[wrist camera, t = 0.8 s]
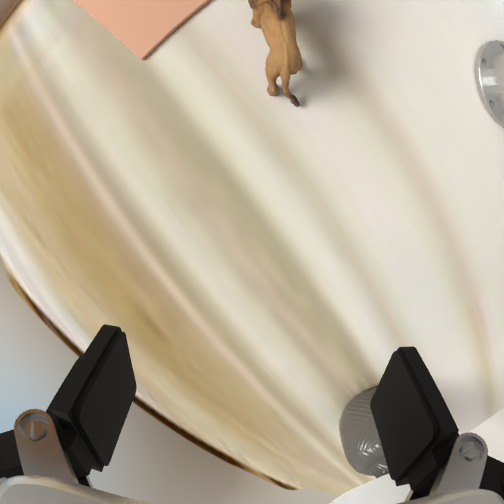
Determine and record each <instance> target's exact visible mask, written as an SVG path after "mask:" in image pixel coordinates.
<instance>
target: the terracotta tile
mask: <svg viewBox="0 0 504 504" xmlns="http://www.w3.org/2000/svg"><path fill="white" fill-rule="evenodd" d="M74 1H75V2H76V3H77V4H79V5H80V6H81V7H82V8H83V9H85V10H86V11H87V12H88V13H89V14H90V15H92V16H93V17H94V18H95V19H96V20H97V21H99V22H100V23H101V24H102V25H103V26H104V27H106V28H107V29H108V30H109V31H110V32H111V33H112V34H113V35H115V36H116V37H117V38H118V39H119V40H120V41H121V42H122V43H124V44H125V45H126V46H127V47H128V48H129V49H130V50H131V51H132V52H133V53H135V54H136V55H137V56H138V57H139V58H140V59H141V60H144V59H145V58H146V57H147V56H148V55H149V54H150V53H151V52H152V51H153V50H154V49H155V48H156V47H157V46H158V45H159V44H160V43H161V42H162V41H163V40H164V39H165V38H166V37H167V36H169V35H170V34H171V33H172V32H173V31H174V30H175V29H176V28H177V27H179V26H180V25H181V24H182V23H183V22H184V21H186V20H187V19H188V18H189V17H190V16H191V15H193V14H194V13H195V12H196V11H198V10H199V9H200V8H201V7H203V6H204V5H205V4H206V3H208V2H209V1H210V0H74Z"/></svg>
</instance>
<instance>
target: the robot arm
mask: <svg viewBox="0 0 504 504" xmlns="http://www.w3.org/2000/svg"><path fill="white" fill-rule="evenodd" d="M475 75H476V82H477V86H478V90H479V93H480V96H481V99H482V101H483V103H484V105H485V107H486V109H487V111H488V112H489V114H490V115H491V116H492V118H493V119H494V120H495V121H496V122H497V123H498V124H499V125H501V126H502V127H504V42H503V41H498V40H496V41H490V42H487V43H485V44H484V45H483V46H482V47H481V48H480V50H479V51H478V54H477V57H476V63H475ZM135 393H136V381H135V377H134V372H133V368H132V363H131V358H130V354H129V349H128V344H127V338H126V334H125V332H122V331H121V328H120V327H117V326H111V325H103V326H102V327H101V329H100V330H99V332H98V333H97V335H96V336H95V338H94V339H93V341H92V342H91V344H90V346H89V347H88V349H87V350H86V352H85V353H84V355H83V356H81V357H79V358H78V360H77V361H76V362H75V364H74V366H73V367H72V369H71V370H70V372H69V374H68V376H67V377H66V378H65V380H64V382H63V383H62V385H61V387H60V388H59V390H58V392H57V393H56V395H55V397H54V398H53V400H52V402H51V404H50V405H49V407H48V409H47V410H46V412H44V411H42V410H39V409H30V410H27V411H25V412H23V413H22V414H21V415H19V416H18V418H17V419H16V421H15V424H14V430H10V431H7V432H4V433H1V434H0V504H151V503H147V502H142V501H138V500H134V499H129V498H126V497H121V496H118V495H114V494H111V493H107V492H104V491H101V490H97V489H94V488H93V486H92V484H91V482H90V479H89V477H88V475H89V474H90V471H91V469H94V470H97V471H100V472H102V470H103V467H104V465H105V466H108V465H109V463H110V460H111V458H112V455H113V452H114V449H115V446H116V444H117V441H118V438H119V435H120V433H121V430H122V427H123V425H124V422H125V419H126V417H127V414H128V411H129V409H130V406H131V403H132V401H133V398H134V396H135ZM370 408H371V412H372V415H373V418H374V421H375V425H376V428H377V431H378V435H379V438H380V442H381V445H382V449H383V452H384V456H385V459H386V463H387V467H388V470H389V474H390V477H391V479H392V480H395V484H396V487H397V486H402V485H406V484H409V485H410V489H411V490H410V491H409V493H408V495H407V497H406V499H405V501H404V502H401V503H397V504H504V463H503V462H500V461H499V460H496V459H494V458H492V457H490V456H488V448H487V445H486V443H485V441H484V440H483V439H482V438H481V437H480V436H478V435H477V434H474V433H464V434H461V435H460V436H459V434H458V431H459V430H458V428H457V426H456V423H455V421H454V419H453V417H452V415H451V413H450V411H449V409H448V407H447V405H446V403H445V401H444V399H443V397H442V395H441V393H440V391H439V390H438V388H437V386H436V384H435V382H434V380H433V378H432V376H431V375H430V373H429V371H428V369H427V367H426V365H425V364H424V362H423V360H422V358H421V356H420V355H419V353H418V351H417V349H416V348H415V347H399V348H398V349H397V351H395V352H393V354H392V356H391V359H390V361H389V363H388V365H387V368H386V370H385V372H384V374H383V376H382V378H381V381H380V383H379V385H378V387H377V389H376V391H375V393H374V395H373V397H372V399H371V402H370Z"/></svg>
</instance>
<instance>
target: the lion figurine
mask: <svg viewBox="0 0 504 504" xmlns="http://www.w3.org/2000/svg"><path fill="white" fill-rule="evenodd" d="M248 2H249V4H250V7H251V8H252V9H253V19H252V20H251V24H252V25H253V26H254V27H257V28H260V27H261V28H262V31H263V34H264V36H265V39H266V42H267V44H268V45H269V47H270V52H269V54H268V57H267V59H266V68H265V71H266V76H267V79H268V83H269V86H268V88H267V91H268V93H269V94H270V95H271V96H277V95H278V92H279V90H278V87H277V84H276V79H277V77H279V76H281V79H282V89H283V92H284V94H285V95H286V96H287V97H288V98H289V99H290V100H291V103H293V104H294V105H295V106H296V107H299V106H300V104H299V102H298V100H297V98H296V97H295V96H294V95H292V94H291V93H290V92H289V89H288V86H289V79H290V75H291V74H296V73H297V71H298V70H299V69H300V68H301V65H302V58H301V54H300V51H299V48H298V46H297V43H296V31H295V21H294V17H293V14H292V11H291V9H290V8H291V0H248Z"/></svg>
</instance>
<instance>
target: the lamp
mask: <svg viewBox="0 0 504 504" xmlns="http://www.w3.org/2000/svg"><path fill="white" fill-rule="evenodd" d="M376 389H377V387H376V388H372V389H368V390H366V391H364V392H362V393H360V394H358V395H357V396H355V397H354V398H353V399H352V400H351V401H350V402H349V403H348V404H347V406H346V407H345V409H344V411H343V413H342V415H341V418H340V422H339V431H340V437H341V442H342V446H343V449H344V453H345V456H346V458H347V460H348V462H349V464H350V465H351V466H352V467H353V468H354V469H355V470H356V471H357V472H359V473H362V474H364V475H370V476H375V477H376V479H374V480H371V481H369V482H367V483H364V484H362V485H360V486H358V487H356V488H354V489H351V490H349V491H348V492H346V493H344V494H342V495H340V496H339V497H337V498H336V499H334V500H333V501H332V502H331V503H330V504H397V503H401V502H404V501H405V499H406V497H407V495H408V493H409V491H410V490H411V489H410V485H409V484H406V485H402V486H397V487H396V484H395V480H392V479H391V477H390V474H389V470H388V467H387V463H386V459H385V456H384V452H383V449H382V445H381V442H380V438H379V435H378V431H377V428H376V425H375V421H374V418H373V415H372V412H371V408H370V402H371V399H372V397H373V395H374V393H375V391H376Z"/></svg>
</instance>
